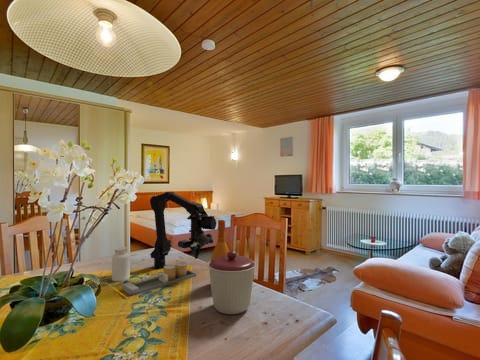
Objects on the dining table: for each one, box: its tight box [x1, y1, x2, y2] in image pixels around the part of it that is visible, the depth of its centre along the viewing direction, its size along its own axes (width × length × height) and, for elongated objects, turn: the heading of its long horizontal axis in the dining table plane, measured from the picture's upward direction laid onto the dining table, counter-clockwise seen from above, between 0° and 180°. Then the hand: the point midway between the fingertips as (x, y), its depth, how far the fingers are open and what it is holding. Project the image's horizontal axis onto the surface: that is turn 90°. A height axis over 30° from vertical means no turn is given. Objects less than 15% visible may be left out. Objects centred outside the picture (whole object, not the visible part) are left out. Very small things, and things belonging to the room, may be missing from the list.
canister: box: [207, 250, 257, 315], centre depth 98 cm, size 18×18×21 cm
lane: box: [122, 269, 197, 297], centre depth 121 cm, size 9×32×3 cm, turn 136°
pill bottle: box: [111, 246, 131, 282], centre depth 126 cm, size 8×8×15 cm
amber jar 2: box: [174, 261, 188, 279], centre depth 129 cm, size 6×6×7 cm
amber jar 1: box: [162, 264, 176, 281], centre depth 124 cm, size 6×6×7 cm
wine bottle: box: [210, 219, 230, 261], centre depth 118 cm, size 10×10×30 cm
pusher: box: [140, 271, 168, 283], centre depth 118 cm, size 7×11×4 cm, turn 136°
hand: (196, 258), depth 135 cm, fingers closed
